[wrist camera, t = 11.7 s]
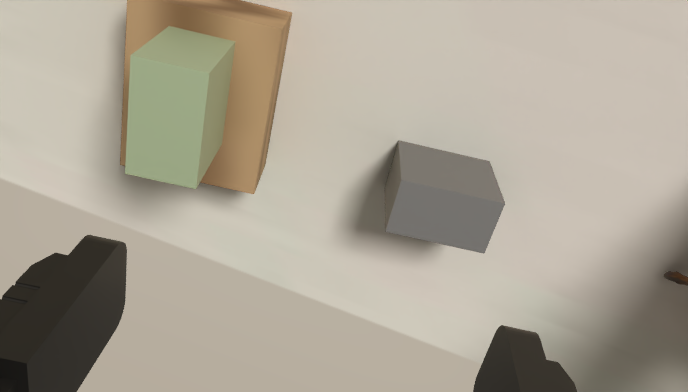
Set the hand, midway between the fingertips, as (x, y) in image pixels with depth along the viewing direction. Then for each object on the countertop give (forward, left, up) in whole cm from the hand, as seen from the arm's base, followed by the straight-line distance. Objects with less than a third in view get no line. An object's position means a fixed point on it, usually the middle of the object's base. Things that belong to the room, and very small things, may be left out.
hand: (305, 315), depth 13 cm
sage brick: (+8, +4, -21) cm, 23 cm away
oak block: (+8, +5, -25) cm, 27 cm away
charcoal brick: (-7, +8, -25) cm, 27 cm away
